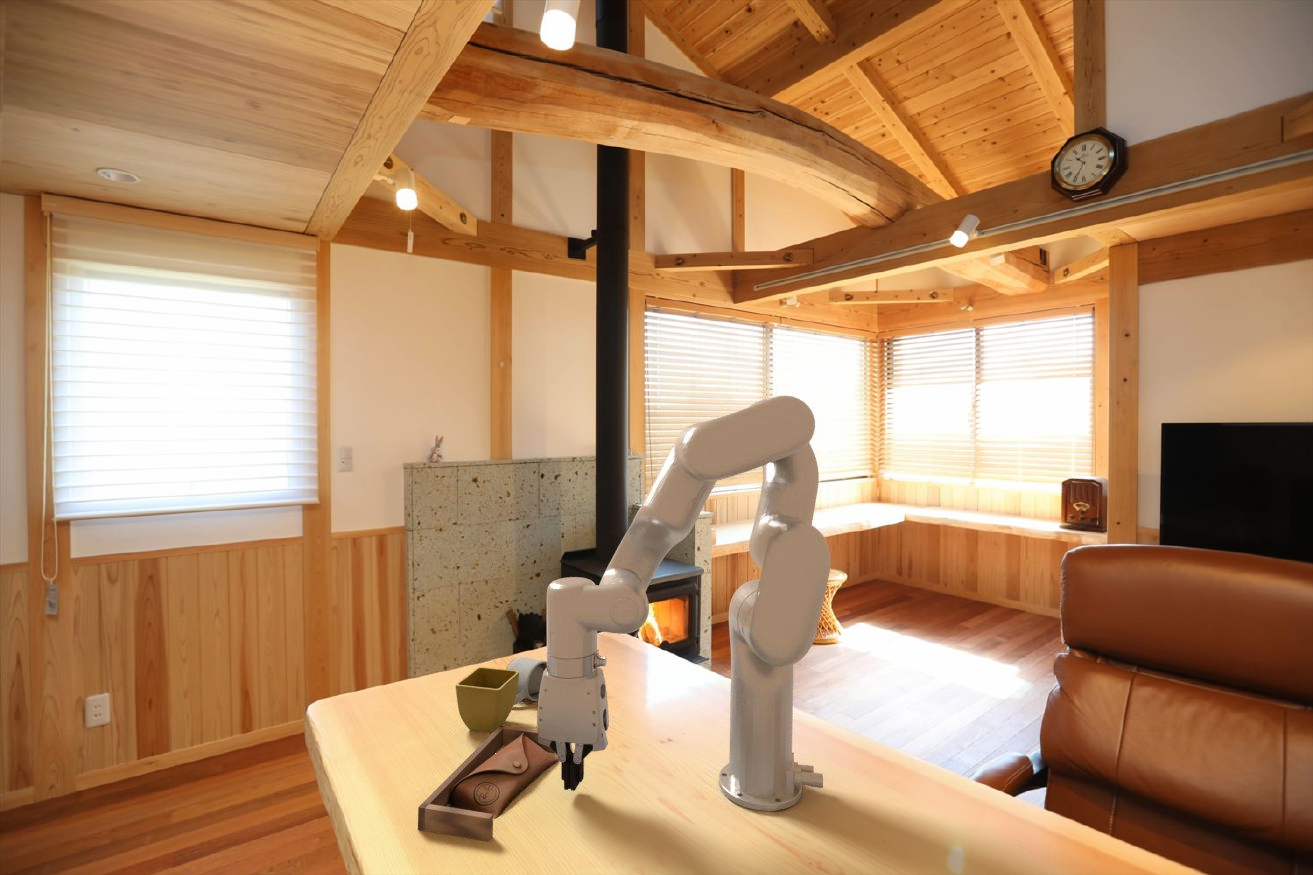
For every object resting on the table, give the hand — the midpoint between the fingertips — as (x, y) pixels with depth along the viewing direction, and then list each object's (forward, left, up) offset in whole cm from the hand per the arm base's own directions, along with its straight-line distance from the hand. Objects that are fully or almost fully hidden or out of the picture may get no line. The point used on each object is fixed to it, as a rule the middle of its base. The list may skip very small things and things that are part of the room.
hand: (572, 784), depth 89 cm
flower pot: (+23, -17, -2) cm, 28 cm away
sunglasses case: (+11, -1, -2) cm, 11 cm away
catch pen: (+12, 0, -2) cm, 12 cm away
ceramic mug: (+21, -30, -2) cm, 37 cm away
